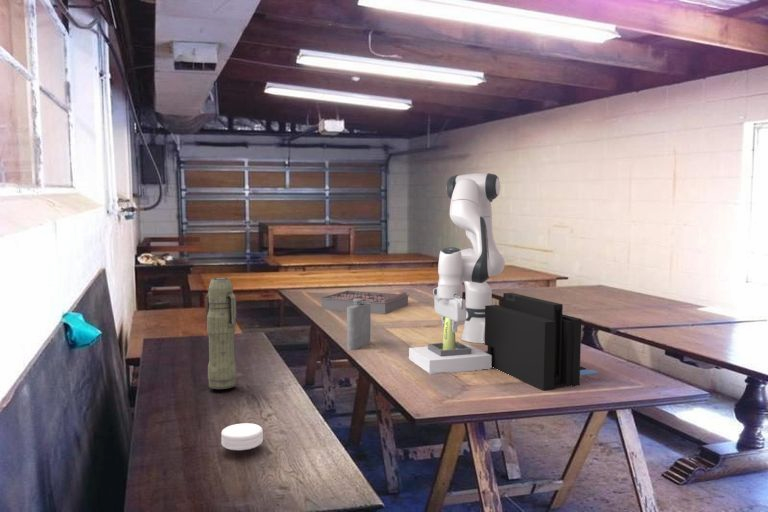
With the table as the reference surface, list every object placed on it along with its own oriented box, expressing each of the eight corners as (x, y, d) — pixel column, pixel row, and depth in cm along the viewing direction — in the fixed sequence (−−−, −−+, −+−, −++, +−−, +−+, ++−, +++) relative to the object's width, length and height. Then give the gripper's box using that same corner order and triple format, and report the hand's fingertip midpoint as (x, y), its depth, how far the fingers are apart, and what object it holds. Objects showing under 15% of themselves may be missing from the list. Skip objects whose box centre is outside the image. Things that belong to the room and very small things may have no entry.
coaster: (213, 447, 153) (212, 433, 153) (237, 433, 163) (237, 420, 162) (247, 453, 150) (247, 439, 149) (270, 439, 159) (270, 425, 159)
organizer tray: (347, 303, 372) (347, 287, 371) (409, 308, 355) (409, 291, 355) (319, 312, 343) (319, 294, 342) (385, 318, 326) (385, 299, 326)
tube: (438, 360, 231) (439, 307, 230) (446, 357, 235) (446, 305, 233) (451, 362, 228) (451, 309, 226) (458, 360, 232) (459, 307, 230)
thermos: (216, 379, 211) (214, 275, 209) (245, 383, 207) (243, 277, 204) (198, 386, 203) (196, 278, 200) (228, 390, 199) (226, 280, 196)
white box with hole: (466, 356, 245) (467, 338, 244) (491, 369, 226) (491, 349, 225) (408, 360, 237) (409, 342, 237) (429, 374, 218) (429, 354, 218)
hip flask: (352, 351, 252) (352, 302, 250) (343, 350, 254) (343, 301, 252) (371, 343, 266) (371, 297, 264) (363, 342, 268) (363, 296, 266)
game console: (484, 364, 233) (485, 292, 231) (550, 356, 245) (552, 288, 243) (543, 390, 201) (545, 307, 199) (616, 380, 213) (619, 301, 210)
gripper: (470, 296, 221) (470, 335, 222) (446, 288, 240) (446, 324, 241) (454, 297, 219) (453, 336, 220) (431, 289, 238) (431, 325, 239)
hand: (449, 329), depth 231 cm, fingers closed on tube, 6 cm apart
